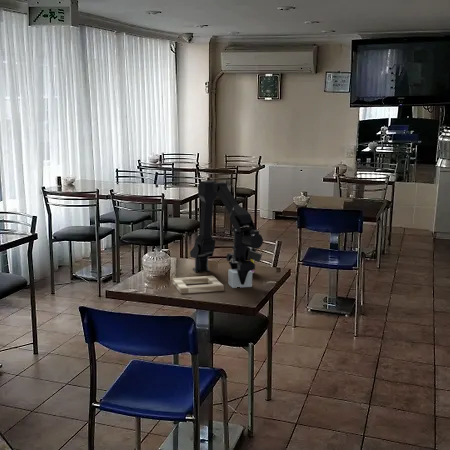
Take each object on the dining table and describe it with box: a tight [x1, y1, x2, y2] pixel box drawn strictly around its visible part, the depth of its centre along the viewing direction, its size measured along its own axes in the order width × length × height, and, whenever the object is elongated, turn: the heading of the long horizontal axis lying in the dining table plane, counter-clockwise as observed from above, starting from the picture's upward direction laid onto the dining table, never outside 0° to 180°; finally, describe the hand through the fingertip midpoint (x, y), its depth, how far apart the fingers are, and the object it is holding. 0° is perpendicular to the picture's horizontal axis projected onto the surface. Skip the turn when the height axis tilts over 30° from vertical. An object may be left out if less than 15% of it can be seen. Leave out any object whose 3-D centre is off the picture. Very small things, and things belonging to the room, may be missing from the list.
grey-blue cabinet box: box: [227, 269, 253, 289], centre depth 242 cm, size 6×8×6 cm
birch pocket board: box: [171, 275, 225, 294], centre depth 239 cm, size 15×17×2 cm
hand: (240, 282), depth 242 cm, fingers closed on grey-blue cabinet box, 6 cm apart
